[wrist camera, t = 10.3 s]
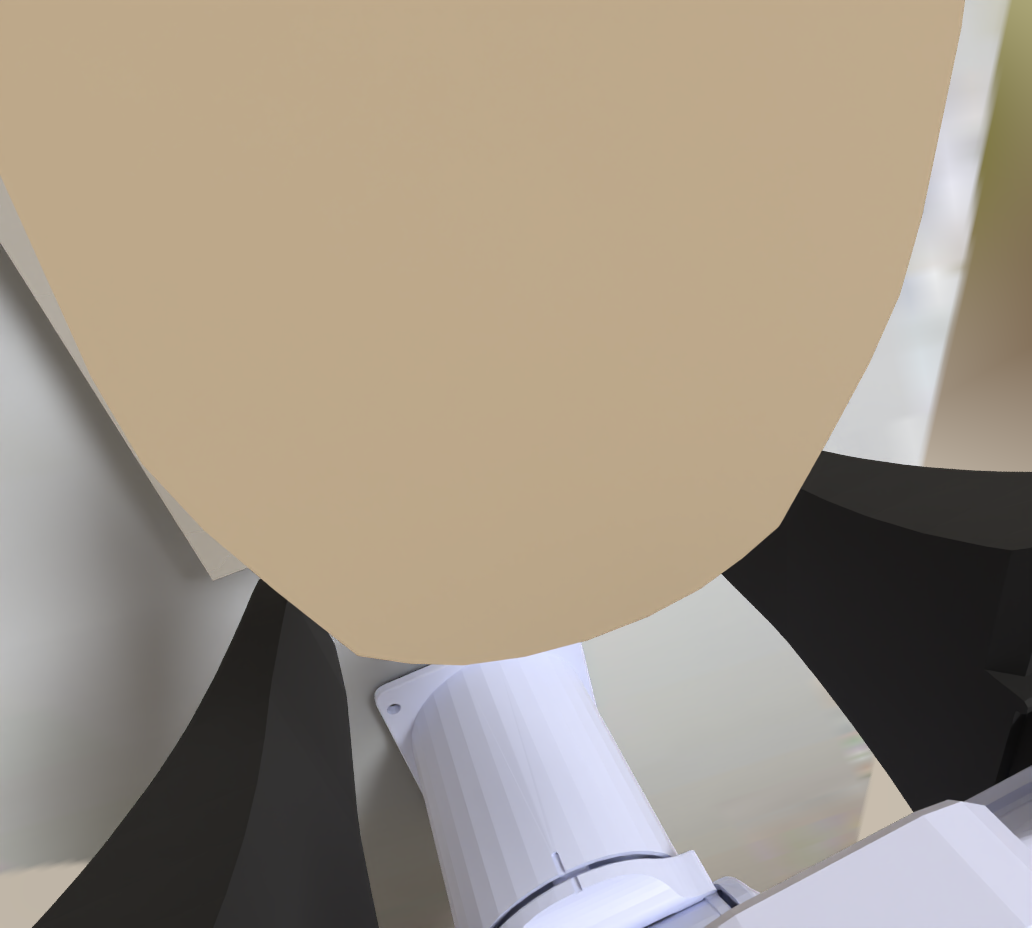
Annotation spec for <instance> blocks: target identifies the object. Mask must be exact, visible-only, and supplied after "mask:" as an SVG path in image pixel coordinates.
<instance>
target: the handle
mask: <svg viewBox="0 0 1032 928" xmlns="http://www.w3.org/2000/svg"><path fill="white" fill-rule="evenodd" d="M964 4H965V0H0V176H1V178H2V180H3V182H4V185H5V187H6V189H7V191H8V194H9V196H10V198H11V200H12V202H13V205H14V207H15V209H16V211H17V214H18V216H19V218H20V220H21V222H22V225H23V227H24V229H25V231H26V234H27V236H28V238H29V240H30V242H31V245H32V247H33V249H34V251H35V254H36V256H37V258H38V260H39V263H40V265H41V267H42V269H43V271H44V274H45V276H46V278H47V280H48V283H49V285H50V287H51V289H52V291H53V294H54V296H55V298H56V300H57V303H58V305H59V307H60V309H61V311H62V314H63V316H64V318H65V320H66V323H67V325H68V327H69V329H70V331H71V334H72V336H73V338H74V340H75V343H76V345H77V347H78V349H79V351H80V354H81V356H82V358H83V360H84V363H85V365H86V367H87V369H88V371H89V374H90V376H91V378H92V380H93V381H94V383H95V385H96V386H97V388H98V390H99V391H100V393H101V395H102V397H103V398H104V400H105V402H106V403H107V405H108V407H109V409H110V410H111V412H112V414H113V415H114V417H115V419H116V420H117V422H118V424H119V426H120V427H121V429H122V431H123V432H124V434H125V436H126V438H127V439H128V441H129V443H130V444H131V446H132V448H133V450H134V451H135V453H136V455H137V456H138V458H139V460H140V461H141V463H142V465H143V466H144V467H145V468H146V469H147V470H148V471H149V472H150V473H151V474H152V475H153V476H154V477H155V479H156V480H157V481H158V482H159V483H160V484H161V485H162V486H163V487H164V488H165V489H166V490H167V491H168V492H169V494H170V495H171V496H172V497H173V498H174V499H175V500H176V501H177V502H178V503H179V504H180V505H181V506H182V507H183V509H184V510H185V511H186V512H187V513H188V514H189V515H190V516H191V517H192V518H193V519H194V520H195V521H196V522H197V524H198V525H199V526H200V527H201V528H202V529H203V530H204V531H205V532H206V533H208V534H209V535H210V536H211V537H212V538H213V539H215V540H216V541H217V542H218V543H219V544H221V545H222V546H223V547H224V548H225V549H227V550H228V551H229V552H230V553H231V554H232V555H234V556H235V557H236V558H237V559H238V560H240V561H241V562H242V563H243V564H244V565H246V566H247V567H248V568H249V569H250V570H251V571H253V572H254V573H255V574H256V575H257V576H259V577H260V578H261V579H262V580H263V581H265V582H266V583H267V584H268V585H269V586H270V587H272V588H273V589H274V590H275V591H276V592H278V593H279V594H280V595H281V596H283V597H284V598H285V599H287V600H288V601H289V602H290V603H292V604H293V605H294V606H295V607H297V608H298V609H299V610H300V611H302V612H303V613H304V614H305V615H307V616H308V617H309V618H311V619H312V620H313V621H314V622H316V623H317V624H318V625H319V626H321V627H322V628H323V629H324V630H326V631H327V632H328V633H330V634H331V635H332V636H333V637H335V638H336V639H337V640H338V641H340V642H341V643H342V644H343V645H345V646H346V647H347V648H348V649H350V650H351V651H352V652H354V653H355V654H356V655H357V656H362V657H369V658H375V659H382V660H389V661H396V662H402V663H409V664H436V665H470V664H477V663H485V662H492V661H499V660H506V659H513V658H521V657H527V656H530V655H534V654H538V653H542V652H545V651H549V650H553V649H557V648H560V647H564V646H568V645H572V644H575V643H579V642H583V641H587V640H590V639H592V638H595V637H597V636H600V635H602V634H605V633H608V632H610V631H613V630H615V629H618V628H620V627H623V626H625V625H628V624H631V623H633V622H636V621H638V620H641V619H643V618H646V617H648V616H650V615H652V614H654V613H656V612H658V611H660V610H661V609H663V608H665V607H667V606H669V605H671V604H673V603H675V602H677V601H678V600H680V599H682V598H684V597H686V596H688V595H690V594H692V593H694V592H695V591H697V590H699V589H701V588H702V587H704V586H705V585H706V584H708V583H709V582H711V581H712V580H713V579H715V578H716V577H717V576H719V575H720V574H721V573H723V572H724V571H726V570H727V569H728V568H730V567H731V566H732V565H734V564H735V563H737V562H738V561H739V560H741V559H742V558H743V557H744V556H746V555H747V554H748V553H749V552H750V551H751V550H752V549H754V548H755V547H756V546H757V545H758V544H759V543H760V542H762V541H763V540H764V539H765V538H766V537H767V536H768V535H770V534H771V533H772V532H773V531H774V530H775V529H777V528H778V527H779V526H780V524H781V522H782V520H783V519H784V517H785V515H786V513H787V511H788V510H789V508H790V506H791V504H792V503H793V501H794V499H795V497H796V496H797V494H798V492H799V490H800V488H801V487H802V485H803V483H804V481H805V480H806V478H807V476H808V474H809V473H810V471H811V469H812V467H813V465H814V464H815V462H816V460H817V458H818V457H819V455H820V453H821V451H822V450H823V448H824V446H825V444H826V442H827V441H828V439H829V437H830V435H831V433H832V432H833V430H834V428H835V426H836V424H837V422H838V420H839V419H840V417H841V415H842V413H843V411H844V409H845V407H846V406H847V404H848V402H849V400H850V398H851V396H852V394H853V393H854V391H855V389H856V387H857V385H858V383H859V381H860V380H861V378H862V376H863V374H864V372H865V370H866V369H867V367H868V365H869V363H870V361H871V358H872V356H873V354H874V352H875V349H876V347H877V345H878V343H879V340H880V338H881V336H882V334H883V331H884V329H885V327H886V325H887V322H888V320H889V318H890V316H891V313H892V311H893V309H894V306H895V304H896V302H897V300H898V297H899V295H900V292H901V289H902V285H903V282H904V278H905V275H906V271H907V268H908V264H909V260H910V257H911V253H912V250H913V246H914V243H915V239H916V236H917V232H918V229H919V225H920V222H921V218H922V214H923V209H924V204H925V199H926V195H927V190H928V185H929V180H930V175H931V171H932V166H933V161H934V156H935V151H936V147H937V142H938V137H939V132H940V127H941V123H942V118H943V113H944V108H945V103H946V99H947V94H948V89H949V84H950V79H951V75H952V70H953V65H954V60H955V55H956V51H957V46H958V41H959V36H960V31H961V25H962V18H963V11H964Z"/></svg>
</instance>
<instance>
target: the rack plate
mask: <svg viewBox="0 0 1032 928" xmlns="http://www.w3.org/2000/svg"><path fill="white" fill-rule="evenodd" d="M0 243H1V245H2V246H3V248H4V249H5V251H6V253H7V254H8V256H9V257H10V259H11V261H12V262H13V264H14V265H15V267H16V268H17V270H18V272H19V273H20V275H21V276H22V278H23V280H24V281H25V283H26V284H27V286H28V288H29V289H30V291H31V292H32V294H33V295H34V297H35V299H36V300H37V302H38V303H39V305H40V307H41V308H42V310H43V311H44V313H45V315H46V316H47V318H48V319H49V321H50V323H51V324H52V326H53V327H54V329H55V330H56V332H57V334H58V335H59V337H60V338H61V340H62V342H63V343H64V345H65V346H66V348H67V350H68V351H69V353H70V354H71V356H72V358H73V359H74V361H75V362H76V364H77V365H78V367H79V369H80V370H81V372H82V373H83V375H84V377H85V378H86V380H87V381H88V383H89V385H90V386H91V388H92V389H93V391H94V393H95V394H96V396H97V397H98V399H99V400H100V402H101V404H102V405H103V407H104V408H105V410H106V412H107V413H108V415H109V416H110V418H111V420H112V421H113V423H114V424H115V426H116V427H117V429H118V431H119V432H120V434H121V435H122V437H123V439H124V440H125V442H126V443H127V445H128V447H129V448H130V450H131V451H132V453H133V455H134V456H135V458H136V459H137V461H138V462H139V464H140V466H141V467H142V469H143V470H144V472H145V474H146V475H147V477H148V478H149V480H150V482H151V483H152V485H153V486H154V488H155V490H156V491H157V493H158V494H159V496H160V497H161V499H162V501H163V502H164V504H165V505H166V507H167V509H168V510H169V512H170V513H171V515H172V517H173V518H174V520H175V521H176V523H177V525H178V526H179V528H180V529H181V531H182V532H183V534H184V536H185V537H186V539H187V540H188V542H189V544H190V545H191V547H192V548H193V550H194V552H195V553H196V555H197V556H198V558H199V559H200V561H201V563H202V564H203V566H204V567H205V569H206V571H207V572H208V574H209V575H210V577H211V579H212V580H213V581H214V580H217V579H219V578H222V577H225V576H227V575H230V574H232V573H235V572H238V571H240V570H243V569H246V568H248V567H247V566H246V565H244V564H243V563H242V562H241V561H240V560H238V559H237V558H236V557H235V556H234V555H232V554H231V553H230V552H229V551H228V550H227V549H225V548H224V547H223V546H222V545H221V544H219V543H218V542H217V541H216V540H215V539H213V538H212V537H211V536H210V535H209V534H208V533H206V532H205V531H204V530H203V529H202V528H201V527H200V526H199V525H198V524H197V522H196V521H195V520H194V519H193V518H192V517H191V516H190V515H189V514H188V513H187V512H186V511H185V510H184V509H183V507H182V506H181V505H180V504H179V503H178V502H177V501H176V500H175V499H174V498H173V497H172V496H171V495H170V494H169V492H168V491H167V490H166V489H165V488H164V487H163V486H162V485H161V484H160V483H159V482H158V481H157V480H156V479H155V477H154V476H153V475H152V474H151V473H150V472H149V471H148V470H147V469H146V468H145V467H144V466H143V465H142V463H141V461H140V460H139V458H138V456H137V455H136V453H135V451H134V450H133V448H132V446H131V444H130V443H129V441H128V439H127V438H126V436H125V434H124V432H123V431H122V429H121V427H120V426H119V424H118V422H117V420H116V419H115V417H114V415H113V414H112V412H111V410H110V409H109V407H108V405H107V403H106V402H105V400H104V398H103V397H102V395H101V393H100V391H99V390H98V388H97V386H96V385H95V383H94V381H93V380H92V378H91V376H90V374H89V371H88V369H87V367H86V365H85V363H84V360H83V358H82V356H81V354H80V351H79V349H78V347H77V345H76V343H75V340H74V338H73V336H72V334H71V331H70V329H69V327H68V325H67V323H66V320H65V318H64V316H63V314H62V311H61V309H60V307H59V305H58V303H57V300H56V298H55V296H54V294H53V291H52V289H51V287H50V285H49V283H48V280H47V278H46V276H45V274H44V271H43V269H42V267H41V265H40V263H39V260H38V258H37V256H36V254H35V251H34V249H33V247H32V245H31V242H30V240H29V238H28V236H27V234H26V231H25V229H24V227H23V225H22V222H21V220H20V218H19V216H18V214H17V211H16V209H15V207H14V205H13V202H12V200H11V198H10V196H9V194H8V191H7V189H6V187H5V185H4V182H3V180H2V178H1V176H0Z"/></svg>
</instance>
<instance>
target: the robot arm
mask: <svg viewBox="0 0 1032 928" xmlns="http://www.w3.org/2000/svg"><path fill="white" fill-rule="evenodd" d="M721 574H722V575H723V576H724V577H725V578H726V579H727V580H728V581H729V582H730V583H731V584H732V585H733V586H734V587H735V588H736V589H737V590H738V591H739V592H740V593H741V594H742V595H743V596H744V597H745V598H746V599H747V600H748V601H749V602H750V603H751V604H752V605H753V606H754V607H755V608H756V609H757V610H758V611H759V612H760V613H761V614H762V615H763V616H764V617H765V618H766V619H767V620H768V621H769V622H770V623H771V624H772V625H773V626H774V627H775V628H776V630H777V631H778V632H779V633H780V634H781V635H782V636H783V637H784V638H785V639H786V640H787V642H788V643H789V644H790V645H791V647H792V648H793V649H794V650H795V652H796V653H797V654H798V655H799V656H800V658H801V659H802V660H803V661H804V663H805V664H806V665H807V666H808V668H809V669H810V670H811V671H812V673H813V674H814V675H815V676H816V678H817V679H818V680H819V681H820V683H821V684H822V685H823V687H824V688H825V689H826V691H827V692H828V693H829V695H830V696H831V697H832V698H833V700H834V701H835V702H836V704H837V705H838V706H839V708H840V709H841V710H842V712H843V713H844V714H845V716H846V717H847V718H848V720H849V721H850V722H851V723H852V725H853V726H854V728H855V729H856V730H857V732H858V733H859V735H860V736H861V737H862V739H863V740H864V742H865V743H866V744H867V746H868V747H869V749H870V750H871V751H872V753H873V754H874V755H875V757H876V758H877V760H878V761H879V762H880V764H881V765H882V767H883V768H884V769H885V771H886V772H887V774H888V775H889V776H890V778H891V779H892V781H893V782H894V784H895V785H896V787H897V788H898V790H899V791H900V793H901V794H902V796H903V797H904V799H905V800H906V801H907V803H908V805H909V806H910V808H911V809H912V811H913V813H911V814H910V815H908V816H906V817H904V818H902V819H900V820H898V821H896V822H894V823H892V824H890V825H889V826H887V827H885V828H883V829H881V830H879V831H877V832H875V833H873V834H872V835H870V836H868V837H866V838H864V839H862V840H860V841H858V842H856V843H855V844H853V845H851V846H849V847H847V848H845V849H843V850H841V851H839V852H838V853H836V854H834V855H832V856H830V857H828V858H826V859H824V860H822V861H820V862H819V863H817V864H815V865H813V866H811V867H809V868H807V869H805V870H803V871H802V872H800V873H798V874H796V875H794V876H792V877H790V878H788V879H786V880H785V881H783V882H781V883H779V884H777V885H775V886H773V887H771V888H769V889H768V890H766V891H764V892H762V893H760V892H758V891H756V890H754V889H752V888H750V887H748V886H747V885H746V884H744V883H743V882H741V881H740V880H738V879H736V878H734V877H730V876H725V877H722V878H720V879H718V880H716V881H714V882H712V881H711V879H710V877H709V876H708V874H707V872H706V870H705V869H704V867H703V865H702V864H701V862H700V860H699V858H698V857H697V855H696V853H695V852H694V851H693V850H690V851H687V852H685V853H682V854H680V855H678V854H677V852H676V850H675V848H674V847H673V845H672V843H671V841H670V839H669V838H668V836H667V834H666V832H665V830H664V829H663V827H662V825H661V823H660V821H659V820H658V818H657V816H656V814H655V812H654V811H653V809H652V807H651V805H650V803H649V802H648V800H647V798H646V796H645V794H644V793H643V791H642V789H641V787H640V785H639V784H638V782H637V780H636V778H635V776H634V775H633V773H632V771H631V769H630V767H629V766H628V764H627V762H626V760H625V758H624V757H623V755H622V753H621V751H620V749H619V748H618V746H617V744H616V742H615V740H614V739H613V737H612V735H611V733H610V731H609V730H608V728H607V726H606V724H605V722H604V721H603V719H602V717H601V715H600V713H599V712H598V710H597V706H596V702H595V698H594V694H593V690H592V685H591V681H590V677H589V673H588V669H587V665H586V660H585V656H584V652H583V648H582V644H581V642H579V643H575V644H572V645H568V646H564V647H560V648H557V649H553V650H549V651H545V652H542V653H538V654H534V655H530V656H527V657H521V658H513V659H506V660H499V661H492V662H485V663H477V664H470V665H436V664H432V665H429V666H427V667H424V668H422V669H420V670H417V671H415V672H413V673H410V674H408V675H406V676H403V677H401V678H398V679H396V680H394V681H391V682H389V683H387V684H384V685H382V686H381V687H379V688H378V689H377V690H376V692H375V695H374V697H375V702H376V706H377V708H378V710H379V712H380V714H381V715H382V717H383V719H384V721H385V723H386V725H387V727H388V729H389V731H390V733H391V735H392V737H393V739H394V740H395V742H396V744H397V746H398V748H399V750H400V752H401V754H402V756H403V758H404V760H405V762H406V764H407V765H408V767H409V769H410V771H411V773H412V775H413V777H414V779H415V781H416V783H417V785H418V787H419V789H420V790H421V792H422V794H423V796H424V800H425V804H426V808H427V812H428V817H429V821H430V825H431V829H432V833H433V837H434V842H435V846H436V850H437V854H438V858H439V862H440V867H441V871H442V875H443V879H444V883H445V887H446V891H447V896H448V900H449V904H450V908H451V912H452V916H453V921H454V925H455V928H1032V472H996V471H972V470H956V469H944V468H931V467H921V466H911V465H902V464H895V463H889V462H882V461H875V460H868V459H862V458H856V457H850V456H845V455H840V454H835V453H831V452H826V451H821V453H820V455H819V457H818V458H817V460H816V462H815V464H814V465H813V467H812V469H811V471H810V473H809V474H808V476H807V478H806V480H805V481H804V483H803V485H802V487H801V488H800V490H799V492H798V494H797V496H796V497H795V499H794V501H793V503H792V504H791V506H790V508H789V510H788V511H787V513H786V515H785V517H784V519H783V520H782V522H781V524H780V526H779V527H778V528H777V529H775V530H774V531H773V532H772V533H771V534H770V535H768V536H767V537H766V538H765V539H764V540H763V541H762V542H760V543H759V544H758V545H757V546H756V547H755V548H754V549H752V550H751V551H750V552H749V553H748V554H747V555H746V556H744V557H743V558H742V559H741V560H739V561H738V562H737V563H735V564H734V565H732V566H731V567H730V568H728V569H727V570H726V571H724V572H723V573H721ZM392 704H396V705H394V706H390V705H392ZM32 928H379V927H378V922H377V917H376V912H375V908H374V903H373V898H372V893H371V888H370V883H369V878H368V873H367V868H366V863H365V858H364V853H363V847H362V842H361V837H360V829H359V822H358V815H357V805H356V794H355V783H354V771H353V760H352V749H351V737H350V727H349V716H348V706H347V696H346V691H345V686H344V682H343V677H342V673H341V668H340V664H339V660H338V656H337V651H336V647H335V644H334V643H333V641H332V639H331V637H330V635H329V633H328V632H327V631H326V630H324V629H323V628H322V627H321V626H319V625H318V624H317V623H316V622H314V621H313V620H312V619H311V618H309V617H308V616H307V615H305V614H304V613H303V612H302V611H300V610H299V609H298V608H297V607H295V606H294V605H293V604H292V603H290V602H289V601H288V600H287V599H285V598H284V597H283V596H281V595H280V594H279V593H278V592H276V591H275V590H274V589H273V588H272V587H270V586H269V585H268V584H267V583H266V582H265V581H263V580H262V579H259V581H258V583H257V585H256V587H255V589H254V591H253V593H252V595H251V598H250V600H249V602H248V605H247V607H246V609H245V612H244V614H243V616H242V619H241V621H240V623H239V625H238V628H237V630H236V632H235V634H234V637H233V639H232V641H231V643H230V645H229V647H228V650H227V652H226V654H225V656H224V658H223V660H222V662H221V664H220V667H219V669H218V671H217V673H216V675H215V677H214V679H213V681H212V683H211V685H210V686H209V688H208V690H207V692H206V694H205V696H204V698H203V699H202V701H201V703H200V705H199V707H198V709H197V711H196V712H195V714H194V716H193V718H192V720H191V722H190V723H189V725H188V727H187V728H186V730H185V732H184V733H183V735H182V737H181V738H180V740H179V741H178V743H177V745H176V746H175V748H174V749H173V751H172V752H171V754H170V755H169V757H168V758H167V760H166V761H165V763H164V764H163V766H162V767H161V769H160V771H159V772H158V774H157V775H156V776H155V778H154V779H153V781H152V782H151V784H150V785H149V786H148V788H147V789H146V790H145V792H144V793H143V794H142V796H141V797H140V798H139V800H138V801H137V802H136V804H135V805H134V806H133V808H132V809H131V810H130V812H129V813H128V814H127V816H126V817H125V818H124V820H123V821H122V822H121V824H120V825H119V826H118V827H117V829H116V830H115V831H114V833H113V834H112V835H111V837H110V838H109V839H108V841H107V842H106V843H105V844H104V846H103V847H102V848H101V849H100V851H99V852H98V853H97V854H96V855H95V857H94V858H93V859H92V860H91V861H90V862H89V864H88V865H87V866H86V867H85V868H84V870H83V871H82V872H81V873H80V874H79V876H78V877H77V878H76V879H75V880H74V881H73V883H72V884H71V885H70V886H69V887H68V888H67V889H66V890H65V892H64V893H63V894H62V895H61V896H60V897H59V898H58V900H57V901H56V902H55V903H54V904H53V905H52V906H51V908H50V909H49V910H48V911H47V912H46V913H45V914H44V915H43V916H42V917H41V918H40V920H39V921H38V922H37V923H36V924H35V925H34V926H33V927H32Z"/></svg>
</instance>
